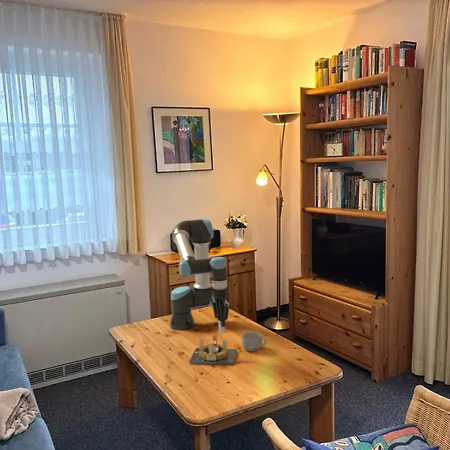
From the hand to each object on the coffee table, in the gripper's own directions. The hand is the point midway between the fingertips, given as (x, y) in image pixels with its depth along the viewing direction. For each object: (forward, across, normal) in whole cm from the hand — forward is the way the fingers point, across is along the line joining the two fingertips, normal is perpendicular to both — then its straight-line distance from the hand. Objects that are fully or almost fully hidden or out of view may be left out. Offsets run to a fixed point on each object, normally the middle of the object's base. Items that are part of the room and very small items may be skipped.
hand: (221, 332), depth 246 cm
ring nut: (+10, 0, -6) cm, 12 cm away
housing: (+12, 0, -6) cm, 13 cm away
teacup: (+12, +8, +16) cm, 21 cm away
